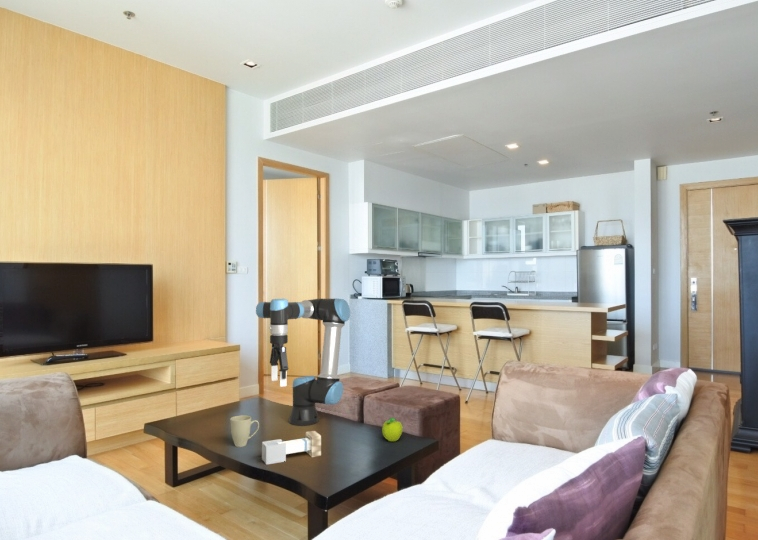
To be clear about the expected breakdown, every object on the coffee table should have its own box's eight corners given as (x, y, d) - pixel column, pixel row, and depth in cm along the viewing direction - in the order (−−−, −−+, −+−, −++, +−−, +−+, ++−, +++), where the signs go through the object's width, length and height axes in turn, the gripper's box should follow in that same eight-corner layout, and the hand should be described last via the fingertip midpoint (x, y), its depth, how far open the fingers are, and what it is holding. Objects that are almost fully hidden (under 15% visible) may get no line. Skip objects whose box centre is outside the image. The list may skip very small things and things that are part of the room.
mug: (241, 450, 210) (241, 422, 211) (225, 446, 216) (226, 418, 216) (260, 443, 220) (260, 416, 220) (244, 439, 225) (244, 413, 225)
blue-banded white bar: (311, 446, 209) (311, 436, 209) (314, 449, 205) (314, 439, 205) (277, 452, 202) (277, 442, 202) (279, 455, 198) (280, 445, 198)
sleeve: (280, 455, 204) (281, 438, 204) (285, 461, 198) (285, 443, 198) (261, 459, 200) (261, 441, 200) (266, 464, 194) (266, 446, 194)
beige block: (314, 449, 211) (314, 430, 211) (321, 455, 204) (321, 435, 204) (305, 451, 209) (305, 432, 210) (311, 457, 202) (312, 437, 202)
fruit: (379, 442, 221) (379, 420, 221) (386, 436, 229) (386, 415, 230) (398, 445, 218) (398, 422, 218) (404, 438, 226) (404, 417, 227)
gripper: (263, 332, 221) (262, 379, 221) (278, 337, 199) (278, 389, 199) (279, 331, 225) (278, 377, 224) (296, 336, 203) (295, 387, 202)
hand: (278, 383), depth 212 cm, fingers open, 13 cm apart
